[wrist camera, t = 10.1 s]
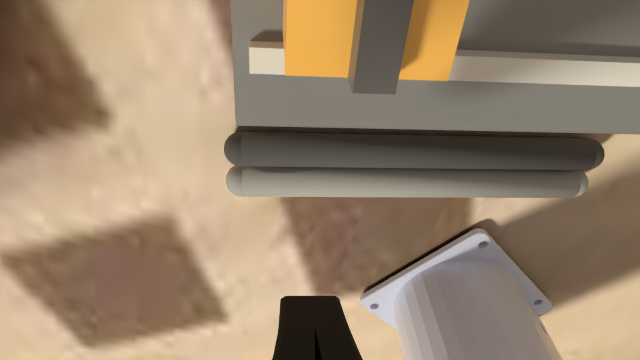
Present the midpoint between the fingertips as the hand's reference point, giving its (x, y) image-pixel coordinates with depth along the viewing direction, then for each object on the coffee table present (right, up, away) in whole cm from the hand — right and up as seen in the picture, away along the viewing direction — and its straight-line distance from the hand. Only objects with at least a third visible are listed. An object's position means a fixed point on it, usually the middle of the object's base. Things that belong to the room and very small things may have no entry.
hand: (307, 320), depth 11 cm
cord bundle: (+4, +4, +9) cm, 11 cm away
